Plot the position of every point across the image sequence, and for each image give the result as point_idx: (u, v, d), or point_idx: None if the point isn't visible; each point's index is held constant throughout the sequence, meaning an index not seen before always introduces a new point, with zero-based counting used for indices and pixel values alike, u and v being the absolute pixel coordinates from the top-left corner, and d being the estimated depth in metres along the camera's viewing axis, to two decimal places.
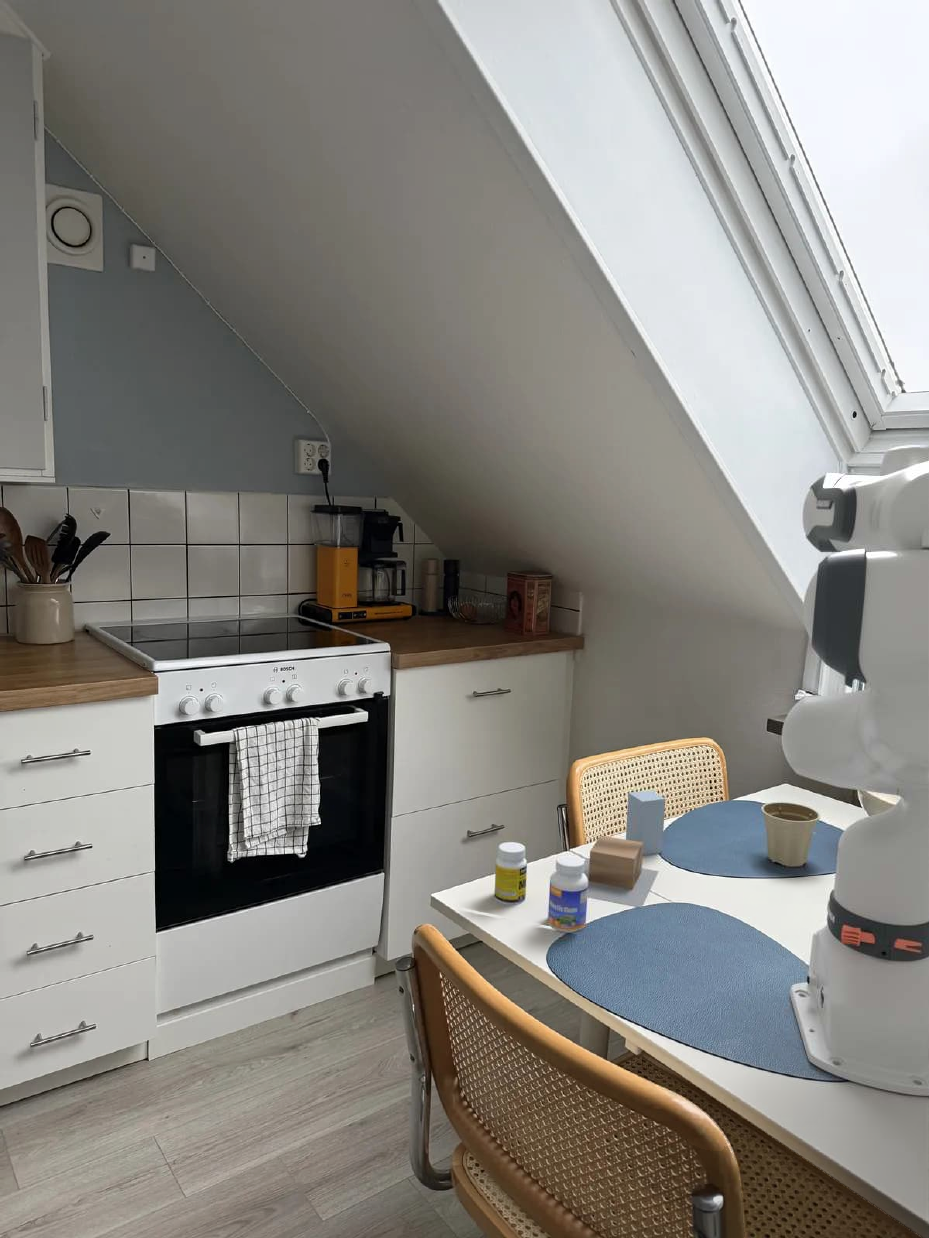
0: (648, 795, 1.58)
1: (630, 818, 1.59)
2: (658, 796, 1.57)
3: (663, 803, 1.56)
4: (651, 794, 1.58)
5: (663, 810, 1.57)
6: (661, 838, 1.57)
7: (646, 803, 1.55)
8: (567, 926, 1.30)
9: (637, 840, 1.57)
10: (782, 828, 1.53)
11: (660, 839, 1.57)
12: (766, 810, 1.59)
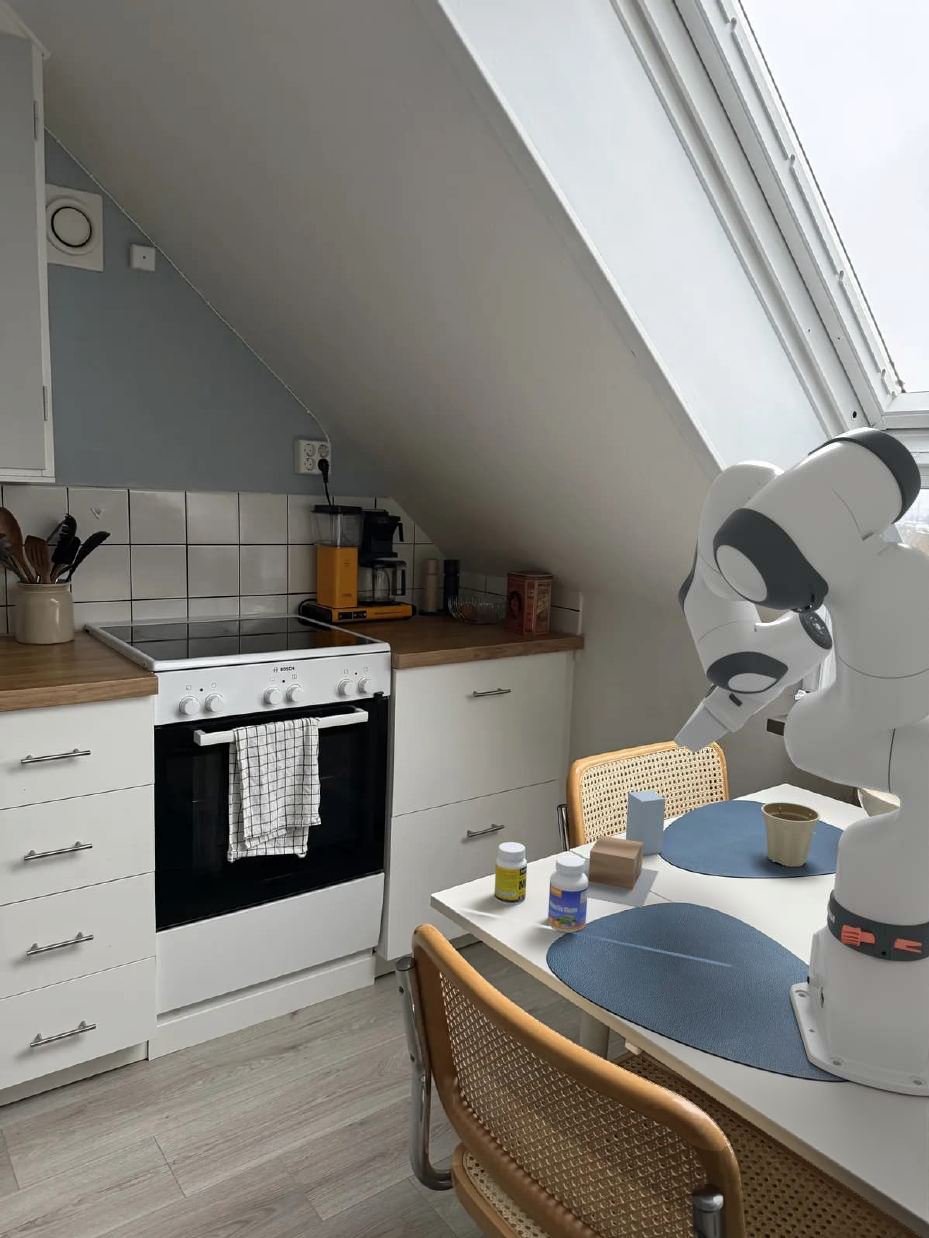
0: (648, 795, 1.58)
1: (630, 818, 1.59)
2: (658, 796, 1.57)
3: (663, 803, 1.56)
4: (651, 794, 1.58)
5: (663, 810, 1.57)
6: (661, 838, 1.57)
7: (646, 803, 1.55)
8: (567, 926, 1.30)
9: (637, 840, 1.57)
10: (782, 828, 1.53)
11: (660, 839, 1.57)
12: (766, 810, 1.59)
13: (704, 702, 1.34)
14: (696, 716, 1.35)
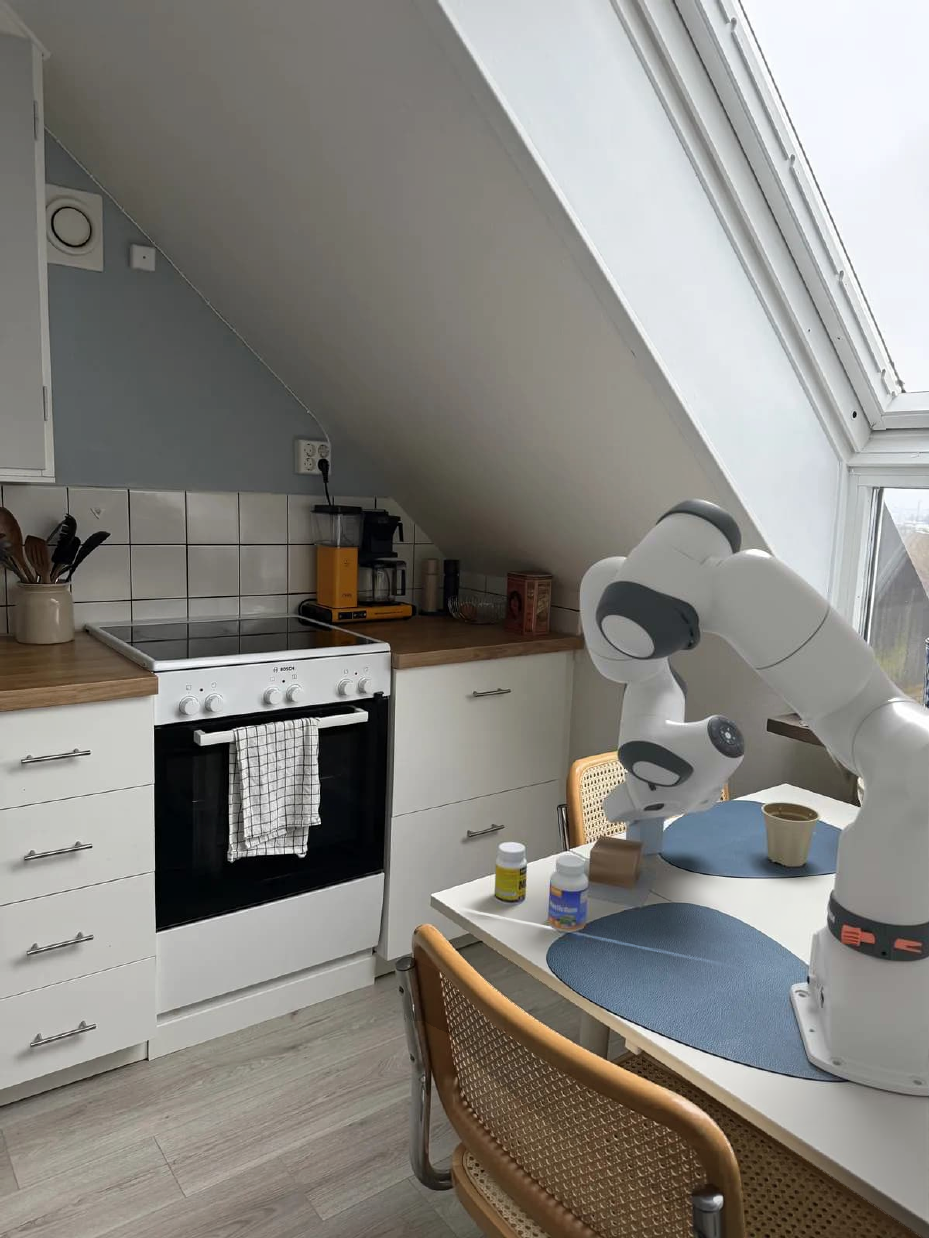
0: None
1: None
2: None
3: None
4: None
5: None
6: (661, 838, 1.57)
7: None
8: (567, 926, 1.30)
9: (637, 840, 1.57)
10: (782, 828, 1.53)
11: (660, 838, 1.57)
12: (766, 810, 1.59)
13: (625, 775, 1.48)
14: (616, 786, 1.49)
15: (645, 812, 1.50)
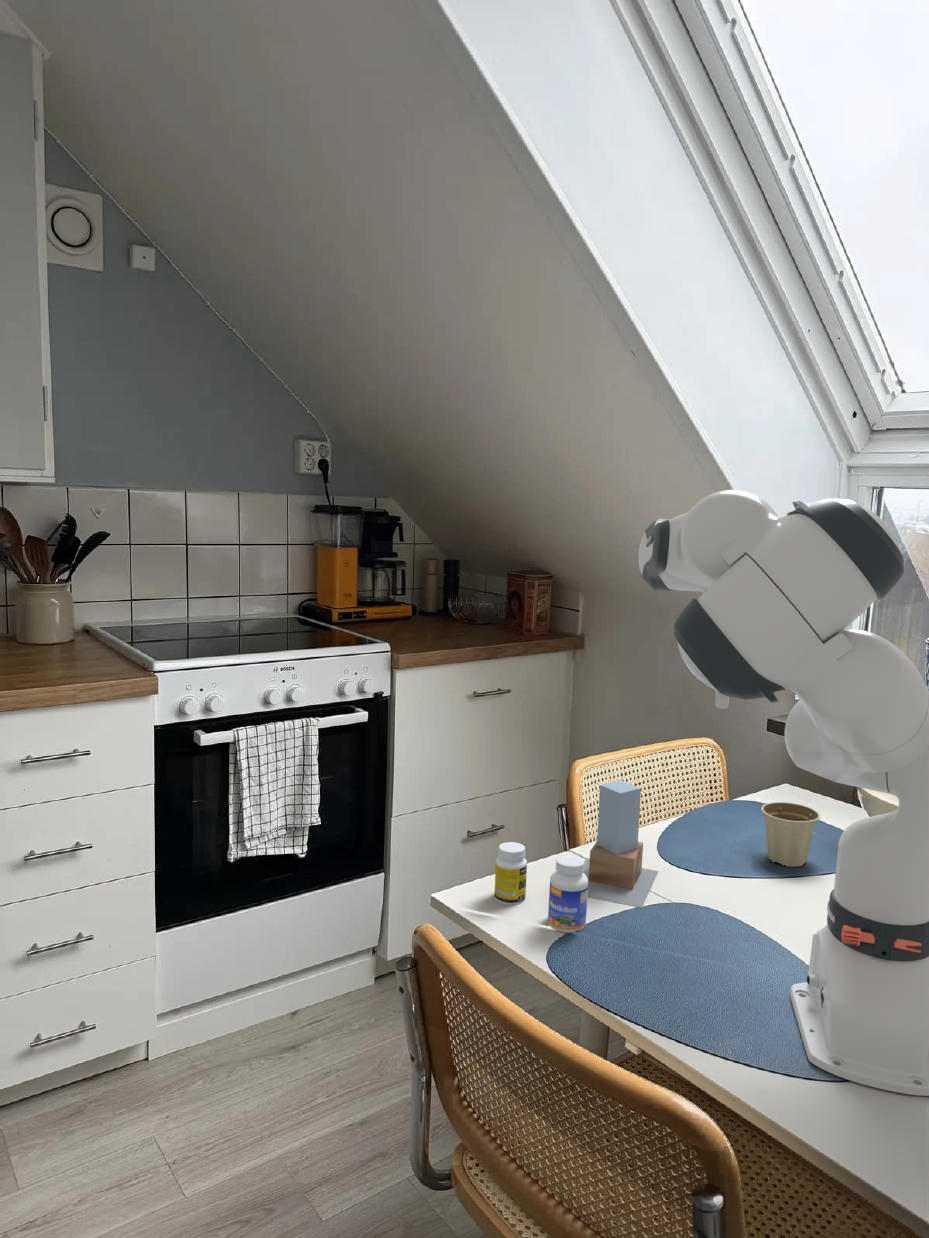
0: (621, 785, 1.46)
1: (603, 812, 1.46)
2: (632, 786, 1.46)
3: (639, 793, 1.45)
4: (624, 785, 1.46)
5: (639, 801, 1.45)
6: (637, 831, 1.46)
7: (623, 794, 1.43)
8: (567, 926, 1.30)
9: (614, 835, 1.44)
10: (782, 828, 1.53)
11: (636, 832, 1.46)
12: (766, 810, 1.59)
13: None
14: None
15: None
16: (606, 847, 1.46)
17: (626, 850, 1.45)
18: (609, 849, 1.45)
